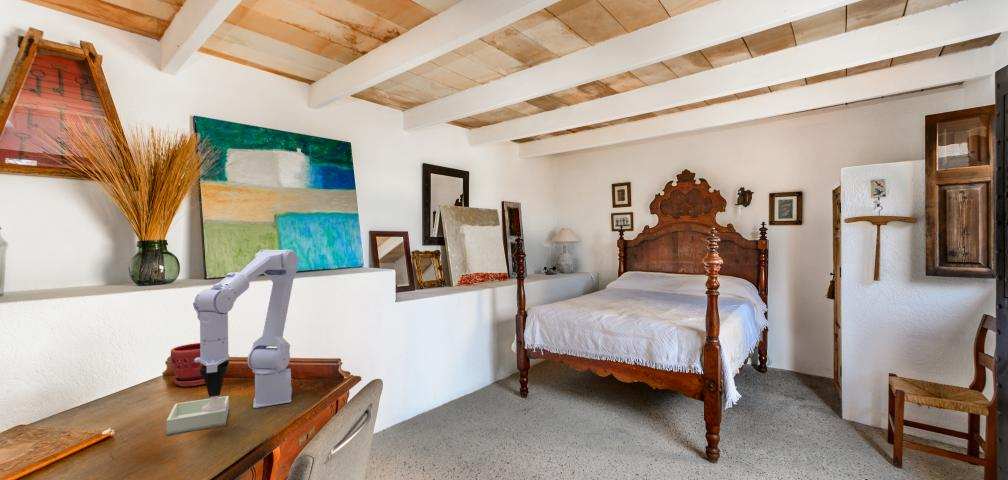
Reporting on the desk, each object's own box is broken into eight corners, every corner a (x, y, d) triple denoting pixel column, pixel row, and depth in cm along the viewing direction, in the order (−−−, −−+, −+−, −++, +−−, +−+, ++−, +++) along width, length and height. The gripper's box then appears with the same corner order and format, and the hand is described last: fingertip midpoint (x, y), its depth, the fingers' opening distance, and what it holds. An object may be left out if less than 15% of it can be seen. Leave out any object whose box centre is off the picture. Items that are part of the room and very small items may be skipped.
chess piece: (214, 413, 105) (216, 370, 105) (196, 411, 106) (198, 369, 106) (230, 406, 110) (232, 365, 110) (213, 404, 111) (215, 364, 111)
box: (228, 408, 123) (228, 395, 123) (225, 425, 112) (225, 410, 112) (175, 417, 117) (175, 403, 117) (166, 435, 107) (166, 420, 106)
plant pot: (229, 376, 151) (228, 341, 151) (197, 389, 138) (197, 351, 138) (194, 374, 152) (194, 340, 152) (160, 388, 139) (159, 350, 139)
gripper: (198, 334, 112) (198, 387, 113) (190, 347, 100) (191, 407, 100) (230, 331, 116) (231, 383, 116) (227, 343, 103) (227, 401, 103)
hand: (215, 394), depth 108 cm, fingers closed on chess piece, 2 cm apart
